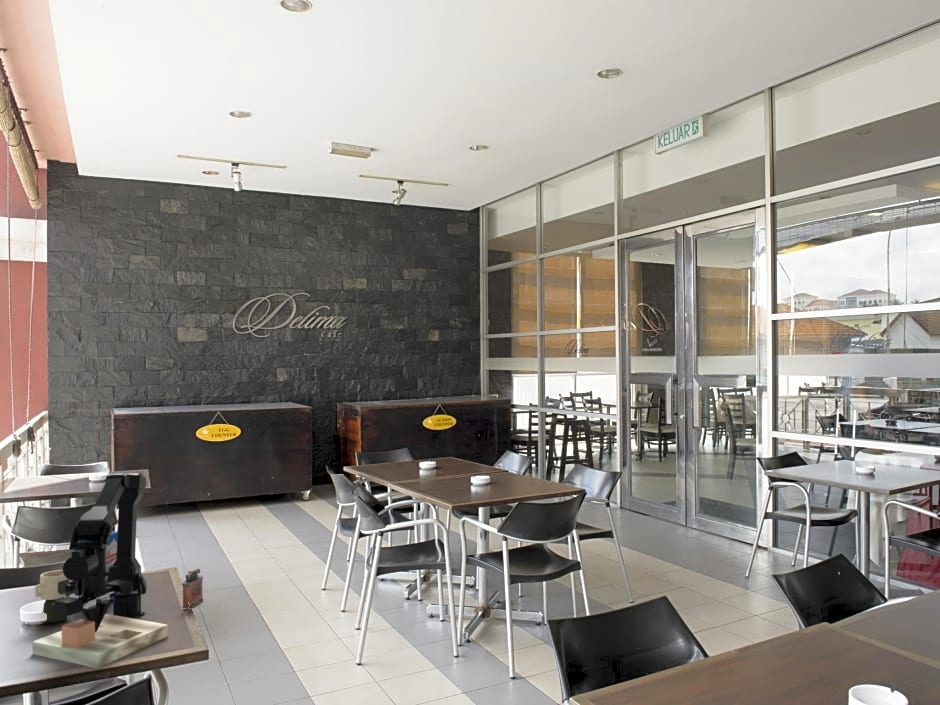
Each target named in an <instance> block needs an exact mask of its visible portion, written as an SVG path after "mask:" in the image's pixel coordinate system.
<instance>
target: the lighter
mask: <svg viewBox="0 0 940 705" xmlns="http://www.w3.org/2000/svg"><path fill="white" fill-rule="evenodd" d="M200 573H201V568H195V569H192V570H188V573H186V574H185V580H184V581H182V583H181V586H182V601H183V602H182V608H186V609H188V607H189V609H190V608H191V609H190V610H192V609H194V608H196V607H198V606H200V605H202V603H203V602H204V598H203V579H204V575H199V574H200ZM188 602H189V604H190V606H189V604H188Z"/></svg>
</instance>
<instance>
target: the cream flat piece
mask: <svg viewBox="0 0 940 705" xmlns="http://www.w3.org/2000/svg"><path fill="white" fill-rule="evenodd" d="M168 625H169V624H166V623H161V622H155V621H150V620H144V619H138V618H127V617H122V616H116V615H113V614H111V613H110V614H109V613H106V614H105V616H104V618H103V620H102V622H101V624H100V626H99V628H98V630H97V632H95V641H92V642H90V643H87V644H85V645H82V646H80V647H78V648H75V647H70V646H65V645H62V630H60V631H57V632H55V633H52V634H49V635H46V636H44V637H41V638H38V639H35V640H33V641H32V655H34V654H35V655H34V656H40V657H45V658H48V659H52V660H53V659H54V660H58V661H62V662H67V663H70V664H71V663H72V664H76V665H81V666H85V667H90V668H93V669H99V668H101V667H103V666H106V665H107V664H111V663H112V662H115V661H116V660H119V659H121V658H123V657H125V656H127V655H130V654H132V653H134V652H137V651H139V650H141V649H143V648H145V647H148V646H150V645H152V644H153V643H156V642H159V641H160V640H163V639H165V638H168V637H167V636H169V626H168Z"/></svg>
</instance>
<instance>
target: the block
mask: <svg viewBox="0 0 940 705" xmlns="http://www.w3.org/2000/svg"><path fill="white" fill-rule="evenodd" d="M61 631H62V645H65V646H70V647H75V648H78V647H80V646H82V645H85V644H87V643H90V642H92V641H95V622H93V621H88V620H87V619H81V618H80V619H77V620H74V621H71V622H69V623H67V624H63V625H61Z"/></svg>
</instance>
